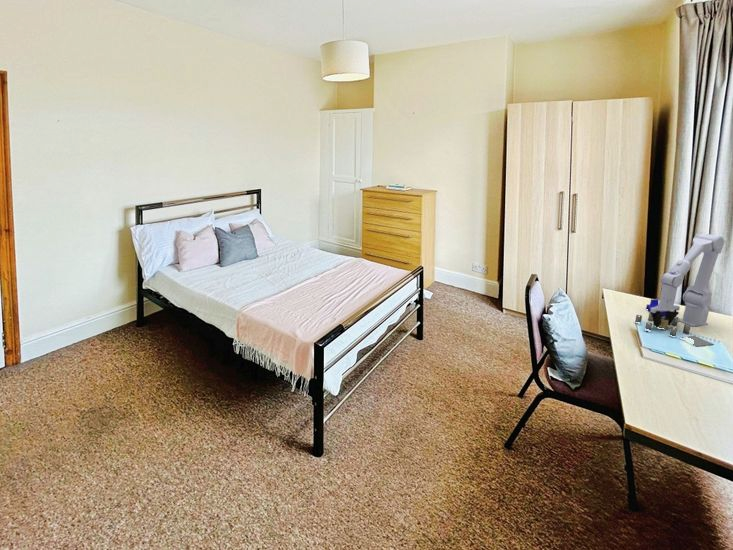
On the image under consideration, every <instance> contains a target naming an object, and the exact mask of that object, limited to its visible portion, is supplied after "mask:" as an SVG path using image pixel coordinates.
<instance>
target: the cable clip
mask: <svg viewBox="0 0 733 550" xmlns="http://www.w3.org/2000/svg"><path fill="white" fill-rule="evenodd" d="M659 300H660V299H656V298H655V299H653V298H652V299H650V303H649V304H646V307H645V310H646V309H648V311H647V312H648V313H649V312H650V310H651V308H653V307H656V306H658V305H659ZM660 313H661V314H663V315H664V316H663V317H666V313H665V311H663V312H660Z"/></svg>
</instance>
